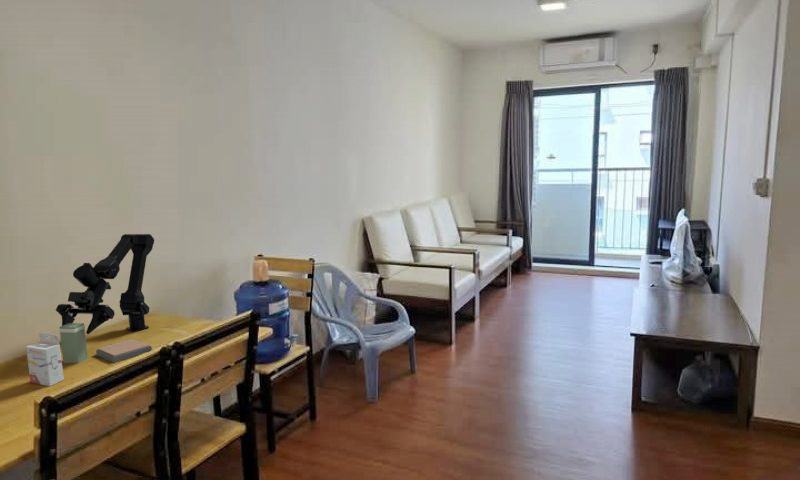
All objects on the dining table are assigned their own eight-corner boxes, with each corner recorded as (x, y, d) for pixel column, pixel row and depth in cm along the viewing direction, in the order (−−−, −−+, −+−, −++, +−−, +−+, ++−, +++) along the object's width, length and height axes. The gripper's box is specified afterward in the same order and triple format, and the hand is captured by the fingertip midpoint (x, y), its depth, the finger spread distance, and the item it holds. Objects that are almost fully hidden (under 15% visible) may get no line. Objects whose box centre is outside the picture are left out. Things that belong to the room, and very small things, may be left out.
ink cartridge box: (29, 383, 161) (23, 337, 158) (44, 376, 165) (39, 331, 163) (49, 386, 158) (43, 339, 156) (64, 380, 162) (59, 334, 160)
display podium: (96, 354, 184) (95, 348, 183) (133, 344, 194) (132, 338, 194) (114, 362, 176) (113, 356, 176) (151, 351, 186) (151, 345, 186)
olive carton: (63, 362, 177) (59, 327, 175) (73, 357, 181) (69, 322, 180) (78, 363, 176) (74, 327, 174) (88, 358, 181) (84, 323, 179)
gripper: (56, 281, 182) (34, 321, 173) (106, 282, 180) (86, 322, 171) (75, 297, 191) (55, 336, 182) (122, 298, 189) (105, 338, 180)
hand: (74, 333), depth 178 cm, fingers open, 9 cm apart
